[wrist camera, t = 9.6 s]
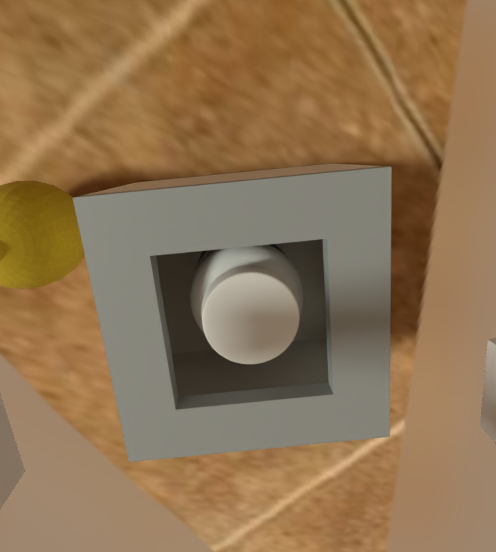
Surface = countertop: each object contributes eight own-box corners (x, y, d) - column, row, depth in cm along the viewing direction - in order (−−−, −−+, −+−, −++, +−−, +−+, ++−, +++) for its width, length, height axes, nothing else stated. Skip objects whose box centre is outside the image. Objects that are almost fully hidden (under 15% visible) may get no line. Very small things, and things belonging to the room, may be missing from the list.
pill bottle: (296, 284, 26) (338, 347, 17) (222, 320, 26) (221, 400, 17) (261, 209, 25) (284, 230, 15) (183, 247, 25) (159, 290, 16)
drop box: (136, 182, 25) (72, 197, 15) (331, 163, 25) (391, 166, 15) (165, 358, 28) (129, 462, 18) (337, 341, 28) (389, 436, 18)
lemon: (111, 186, 25) (54, 199, 17) (103, 272, 26) (47, 319, 19) (18, 169, 24) (-83, 174, 17) (16, 257, 26) (-78, 299, 18)
